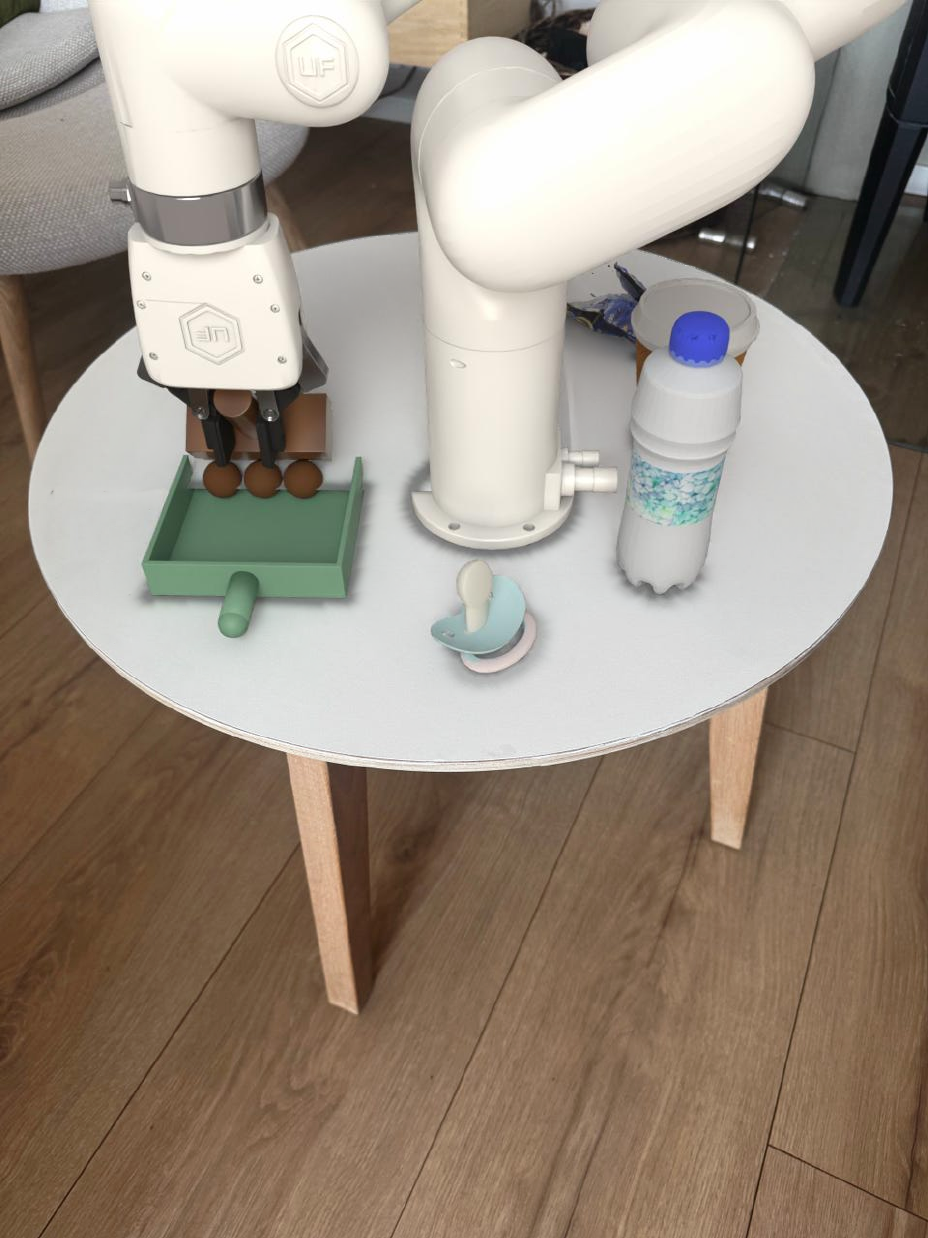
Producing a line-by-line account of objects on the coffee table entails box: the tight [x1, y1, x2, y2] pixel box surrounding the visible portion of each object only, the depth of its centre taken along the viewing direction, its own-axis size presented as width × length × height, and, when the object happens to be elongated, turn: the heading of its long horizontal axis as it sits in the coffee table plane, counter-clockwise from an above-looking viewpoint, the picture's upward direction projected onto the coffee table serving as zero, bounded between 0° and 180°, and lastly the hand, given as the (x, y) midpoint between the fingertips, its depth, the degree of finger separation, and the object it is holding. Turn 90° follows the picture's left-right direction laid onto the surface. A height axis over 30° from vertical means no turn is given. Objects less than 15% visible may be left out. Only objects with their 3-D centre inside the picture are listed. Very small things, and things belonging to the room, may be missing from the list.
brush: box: [184, 389, 334, 462], centre depth 72 cm, size 10×4×10 cm
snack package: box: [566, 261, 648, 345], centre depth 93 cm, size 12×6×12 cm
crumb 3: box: [283, 460, 324, 499], centre depth 76 cm, size 3×3×3 cm
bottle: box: [615, 311, 744, 595], centre depth 64 cm, size 7×7×20 cm
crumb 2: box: [243, 459, 284, 498], centre depth 77 cm, size 3×3×3 cm
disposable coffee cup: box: [631, 277, 761, 388], centre depth 78 cm, size 10×10×12 cm
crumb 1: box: [202, 460, 243, 498], centre depth 77 cm, size 3×3×3 cm
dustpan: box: [141, 454, 365, 639], centre depth 71 cm, size 17×14×3 cm
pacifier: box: [430, 559, 538, 674], centre depth 64 cm, size 7×6×6 cm
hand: (249, 454), depth 71 cm, fingers closed on brush, 2 cm apart
